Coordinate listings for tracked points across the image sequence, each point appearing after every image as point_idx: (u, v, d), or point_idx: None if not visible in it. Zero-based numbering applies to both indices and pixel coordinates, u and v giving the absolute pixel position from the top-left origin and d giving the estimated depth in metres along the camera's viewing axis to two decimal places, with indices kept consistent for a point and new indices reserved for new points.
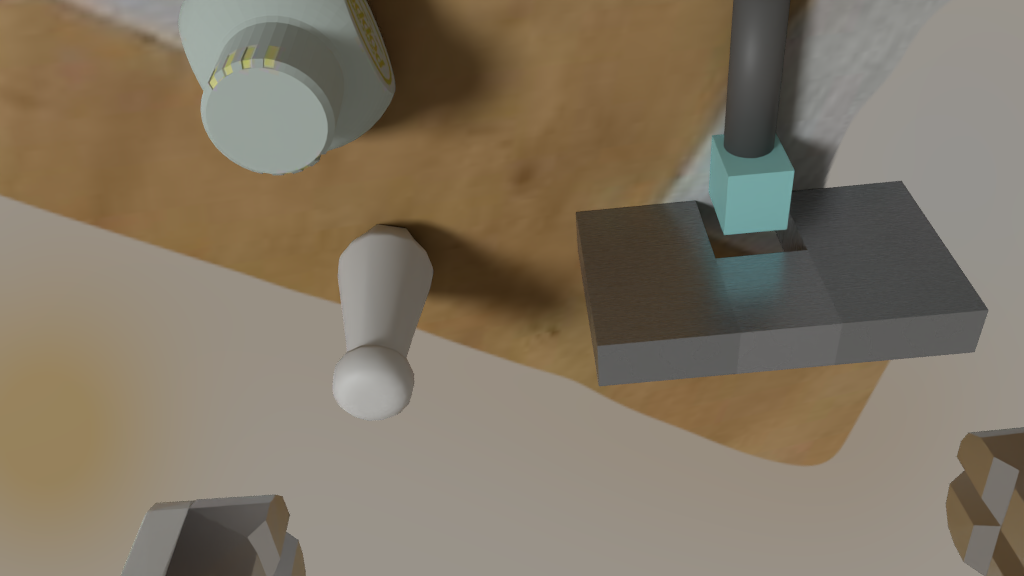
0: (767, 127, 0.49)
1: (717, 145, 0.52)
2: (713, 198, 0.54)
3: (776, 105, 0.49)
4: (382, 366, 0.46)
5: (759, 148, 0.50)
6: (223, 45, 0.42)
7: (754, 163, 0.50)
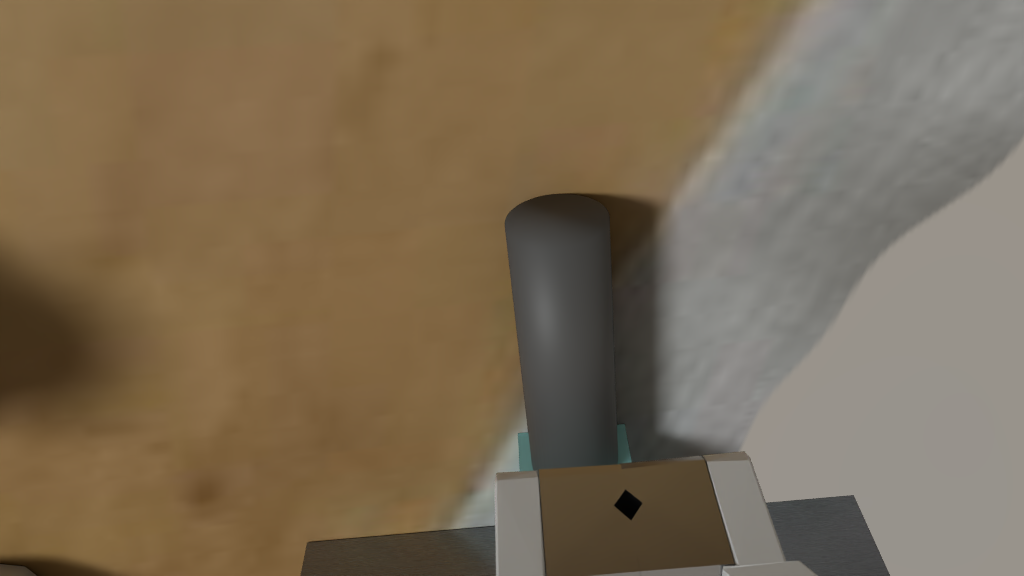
0: (595, 445, 0.27)
1: (521, 457, 0.29)
2: None
3: (607, 408, 0.27)
4: None
5: None
6: None
7: None
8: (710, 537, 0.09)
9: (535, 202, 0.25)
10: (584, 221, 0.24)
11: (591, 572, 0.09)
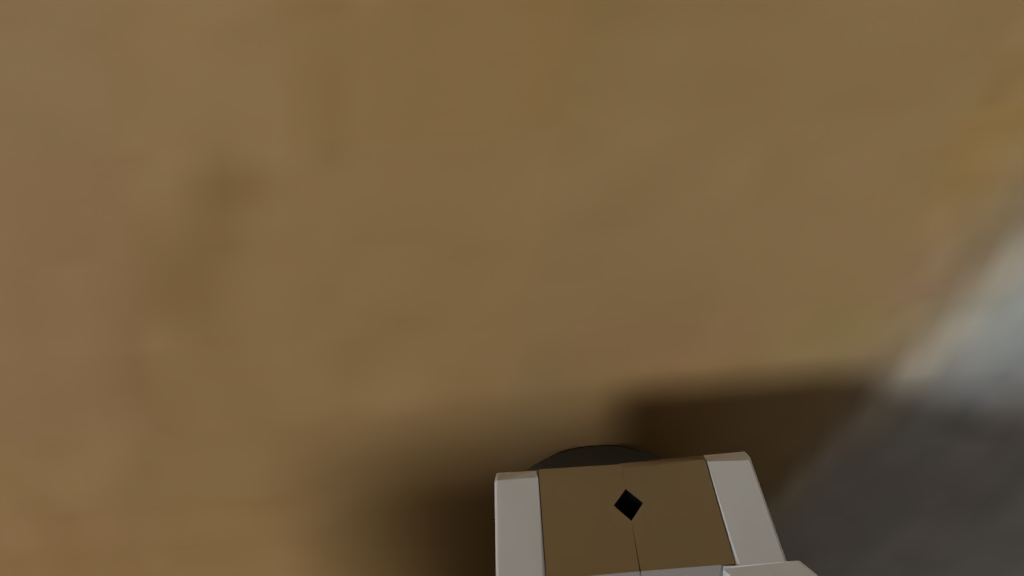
0: None
1: None
2: None
3: None
4: None
5: None
6: None
7: None
8: (711, 537, 0.09)
9: None
10: None
11: (591, 572, 0.09)
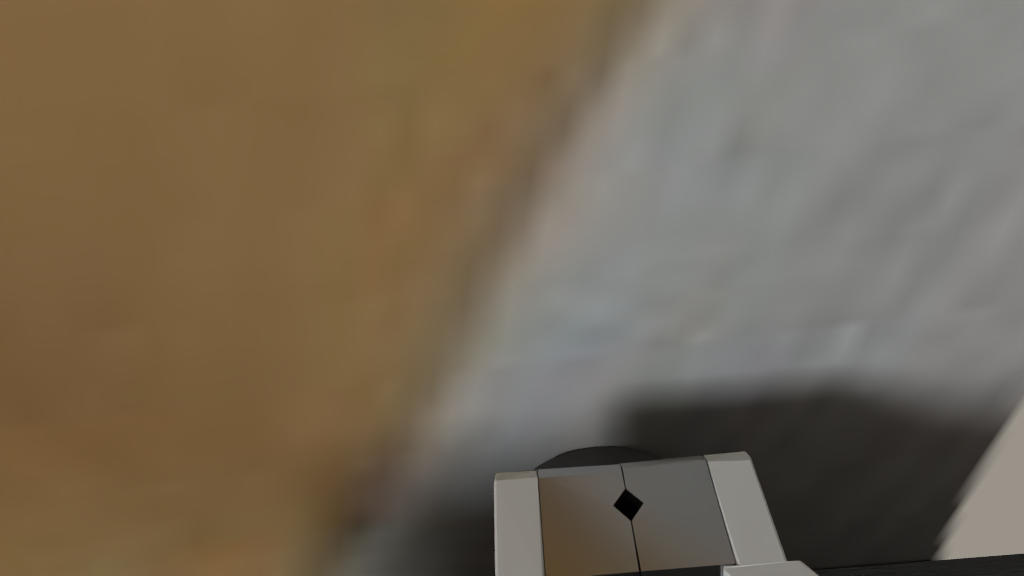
0: None
1: None
2: None
3: None
4: None
5: None
6: None
7: None
8: (711, 537, 0.09)
9: None
10: None
11: (590, 572, 0.09)
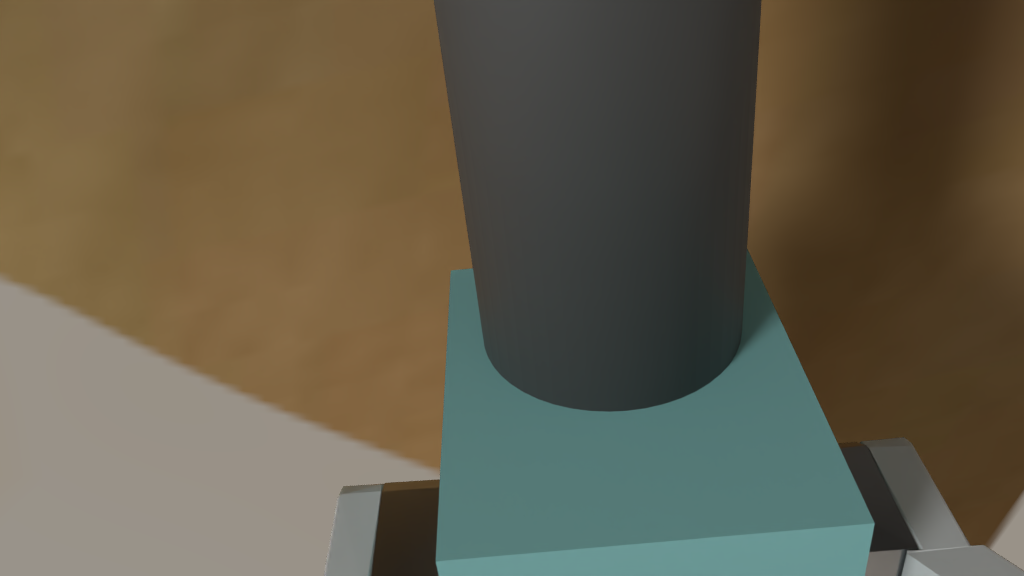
0: (688, 240, 0.08)
1: (454, 325, 0.10)
2: None
3: (737, 96, 0.07)
4: None
5: (651, 360, 0.08)
6: None
7: (622, 448, 0.08)
8: (888, 522, 0.09)
9: None
10: None
11: None
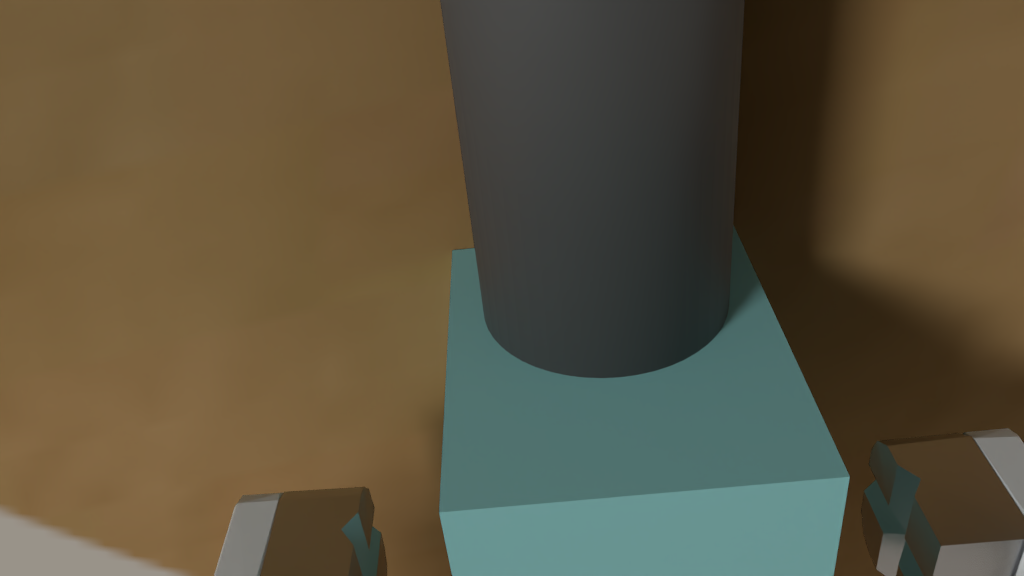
0: (677, 214, 0.08)
1: (456, 300, 0.11)
2: None
3: (722, 78, 0.08)
4: None
5: (642, 328, 0.09)
6: None
7: (615, 410, 0.09)
8: (1003, 512, 0.09)
9: None
10: None
11: None
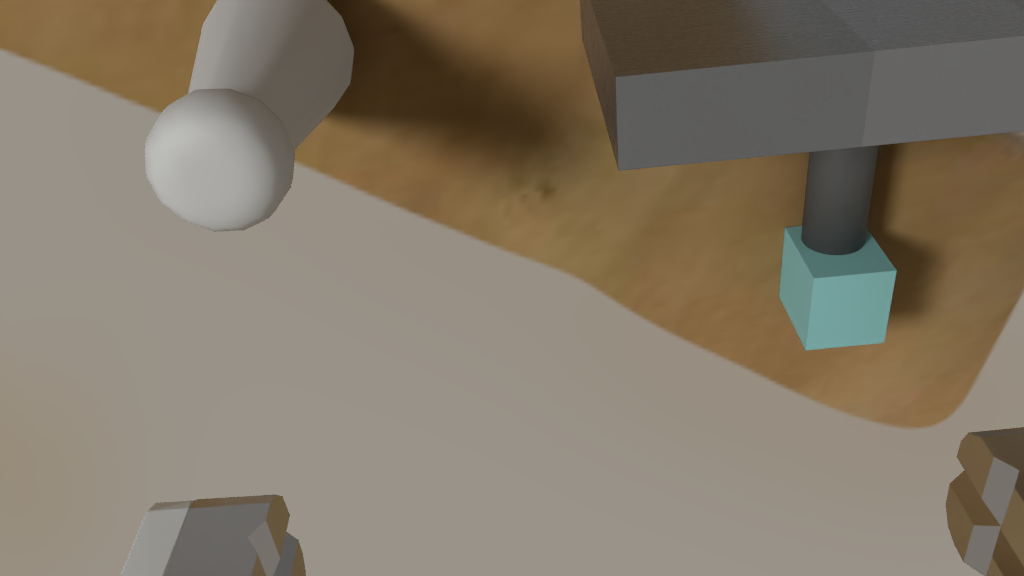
0: (859, 218, 0.40)
1: (793, 239, 0.42)
2: (787, 303, 0.44)
3: (870, 190, 0.39)
4: (229, 110, 0.26)
5: (849, 243, 0.40)
6: None
7: (844, 261, 0.40)
8: None
9: None
10: None
11: None
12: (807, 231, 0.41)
